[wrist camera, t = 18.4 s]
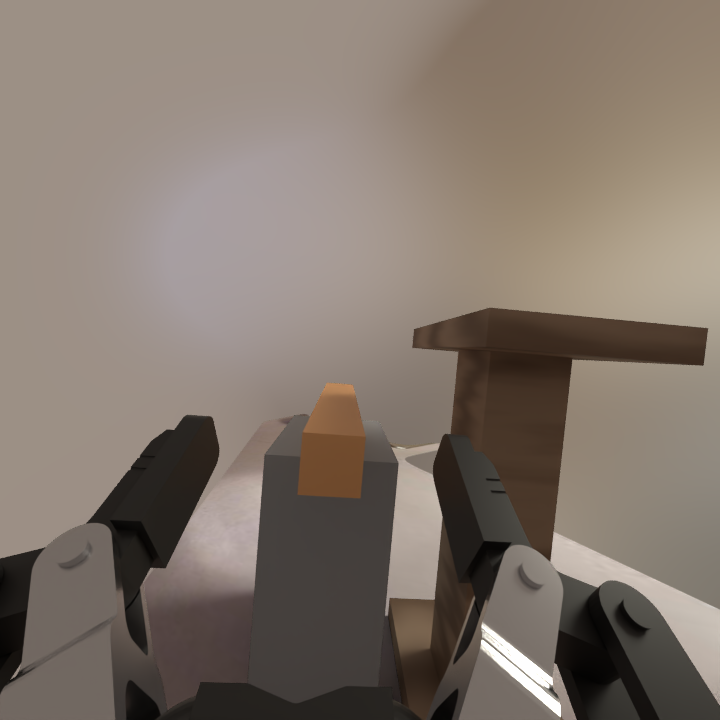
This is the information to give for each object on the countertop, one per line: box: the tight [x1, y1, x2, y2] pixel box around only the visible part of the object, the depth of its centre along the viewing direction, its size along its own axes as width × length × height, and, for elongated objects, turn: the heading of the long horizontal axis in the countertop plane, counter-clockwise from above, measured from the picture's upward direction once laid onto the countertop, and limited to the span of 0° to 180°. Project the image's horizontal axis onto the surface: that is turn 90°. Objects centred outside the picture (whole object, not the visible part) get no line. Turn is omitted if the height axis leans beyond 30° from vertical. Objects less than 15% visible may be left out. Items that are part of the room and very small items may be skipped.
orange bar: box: [297, 383, 366, 498], centre depth 29 cm, size 24×4×4 cm, turn 3°
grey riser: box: [248, 415, 398, 703], centre depth 29 cm, size 13×10×21 cm
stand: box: [388, 308, 708, 720], centre depth 25 cm, size 17×12×32 cm
